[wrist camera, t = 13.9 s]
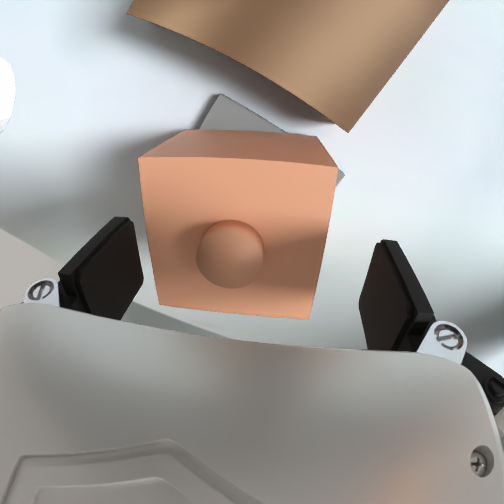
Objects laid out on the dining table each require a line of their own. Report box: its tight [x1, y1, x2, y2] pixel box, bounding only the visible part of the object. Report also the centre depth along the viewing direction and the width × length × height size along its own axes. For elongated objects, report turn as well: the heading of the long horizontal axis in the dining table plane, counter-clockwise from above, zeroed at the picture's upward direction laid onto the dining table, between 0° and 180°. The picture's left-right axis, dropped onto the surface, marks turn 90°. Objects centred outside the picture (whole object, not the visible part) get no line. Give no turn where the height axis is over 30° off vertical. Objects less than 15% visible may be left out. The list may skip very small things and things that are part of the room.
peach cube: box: [138, 130, 338, 319], centre depth 14 cm, size 7×7×7 cm
